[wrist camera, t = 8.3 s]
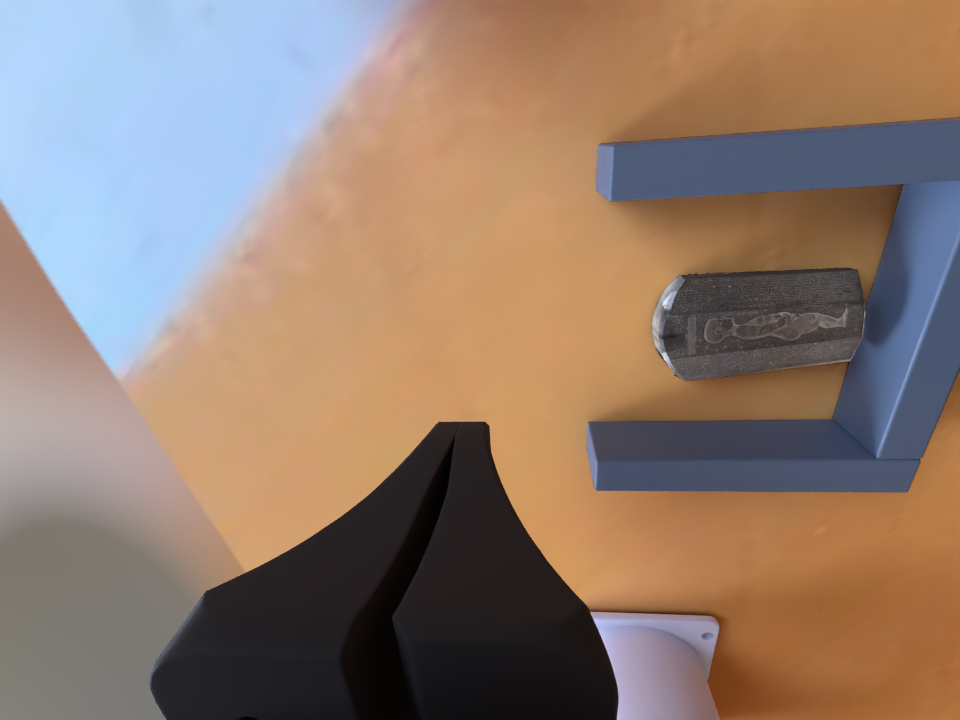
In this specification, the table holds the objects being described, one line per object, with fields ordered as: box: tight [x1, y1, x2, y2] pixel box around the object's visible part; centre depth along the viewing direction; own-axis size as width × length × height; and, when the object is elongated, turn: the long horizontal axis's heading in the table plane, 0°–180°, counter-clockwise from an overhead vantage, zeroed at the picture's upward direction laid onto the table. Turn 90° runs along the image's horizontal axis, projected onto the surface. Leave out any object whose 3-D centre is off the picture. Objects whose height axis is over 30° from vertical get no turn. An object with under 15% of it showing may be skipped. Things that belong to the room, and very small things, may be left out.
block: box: [652, 268, 866, 381], centre depth 15 cm, size 4×6×2 cm, turn 102°
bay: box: [587, 117, 960, 492], centre depth 15 cm, size 11×10×2 cm
